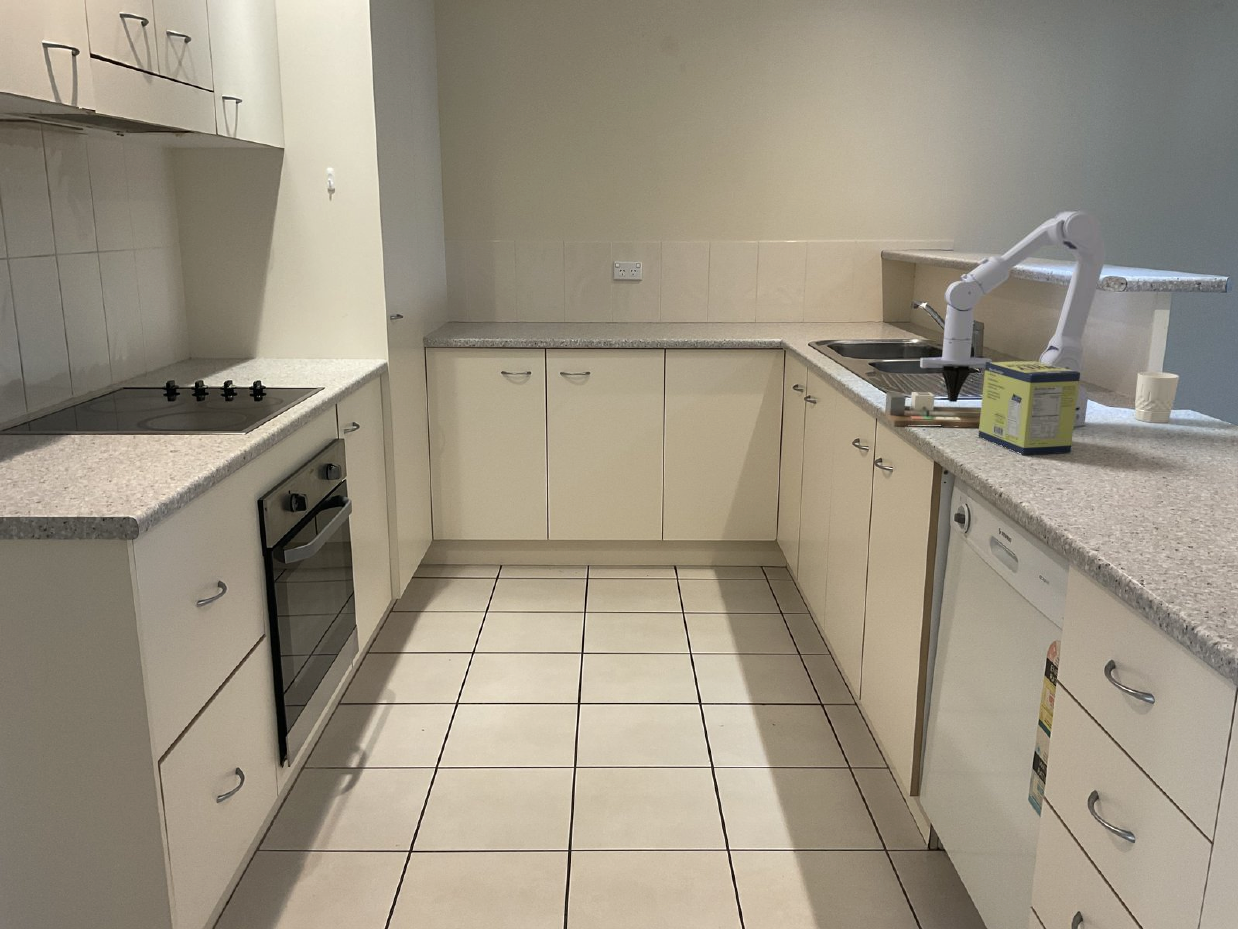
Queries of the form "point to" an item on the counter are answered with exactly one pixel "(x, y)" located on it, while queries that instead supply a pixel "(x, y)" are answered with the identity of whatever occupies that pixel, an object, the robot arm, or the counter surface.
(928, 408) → the gauge carriage
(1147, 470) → the counter surface
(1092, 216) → the robot arm
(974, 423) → the gauge bed
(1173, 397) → the white cup
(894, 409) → the anvil and rails
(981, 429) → the protein box
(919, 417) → the gauge scale
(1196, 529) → the counter surface
